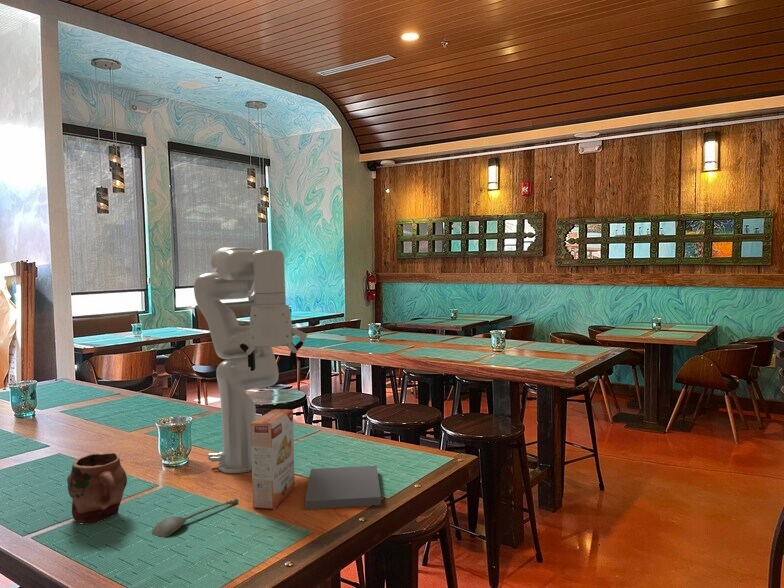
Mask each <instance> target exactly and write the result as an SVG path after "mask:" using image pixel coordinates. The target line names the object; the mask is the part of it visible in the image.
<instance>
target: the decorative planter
mask: <svg viewBox="0 0 784 588" xmlns="http://www.w3.org/2000/svg"><path fill="white" fill-rule="evenodd" d="M126 473H127V472H126V470H125V469H124V467H123V466H122V463H121V459H120V456H118V454H117V453H113V452H112V453H111V452H110V453H109V452H105V453H89V454H86V455H84V456H81V457H79V458H77V459H75V460H74V461H73V462H72V464H71V472H70V473H69V474H68V476H67V478H66V481H67V491H68V495H69V496H70V498H71V499H72V500H71V514H72V518H73V520H74V521H75V523H77V522H78V523H77V524H79V523H92V524H95V523H99V522H98V521H100V522H102V521H101V520H103V521H105V520H107V518H108V519H110V518H112V517H114V516H116V514H118V513H119V509H120V505H121V503H122V500H123V496H124V491H125V489H126V487H127V484H128V483H127V482H128V477H127V474H126ZM113 515H114V516H113ZM111 516H112V517H111ZM109 517H110V518H109ZM104 519H105V520H104ZM94 522H95V523H94Z"/></svg>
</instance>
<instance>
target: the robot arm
mask: <svg viewBox="0 0 784 588" xmlns="http://www.w3.org/2000/svg"><path fill="white" fill-rule="evenodd" d="M210 264H211V267H212V269H213V270H214V272H207V273H206V272H205V273H203V274H200V275H199V276H198V277H197V278H195V281H193V282H194V284H193V293H194V298H195V301H196V305H197V307H198V309H199V310H200V312H201V314H202V315H203V316H204V319H205V321H206V323H207V325H208V329H209V334H210V337H211V341H212V344H213V349H214V351H215V353H216V356H218V358H220V359H223V361H221V362H220V363H219V364H218V365H217V367H216V370H215V371H216V372H215V373H216V374H215V375H216V380H217V386H218V391H219V396H220V397H219V399H220V408H221V411H220V412H221V413H220V414H221V433H222V436H221V437H222V451H219V453H218V452H217V453H216V452H211V453H208V456H207V459H208V460H209V461H210V463H212V462H219V463H218V465H217V468H218V471H220V472H221V473H226V474H244V473H248V472H252V456H251V423H252V422H253V421H255V420H257V415H256V414H257V413H256V404H255V402H254V400H253V399H252V398H251V397H250V396H249V394H248V393H247V391H250V390H255V389H256V390H257V389H263V388H269V387H272V386H275V384H276V383H277V382H278V380H279V366H278V364H277V363H278V362H277V360H276V357H275V353H274V350H273V348H276V347H287V348H288V349H289V350H290V353H289V362H290V365H289V366H290V370H294V369H295V366H297V365H298V364H297V363H298V360H297V359H298V358H297V352H298V351H299V350H300V348H301V347H303V345H304V343H305V341H306V339H307V337H308V334H307V333H306V332H303V331H301V330H299V329H297V328H296V327H295V328H294V327H293V323H292V316H291V311H290V306H289V305H288V304H287V301H286V300H287V299H286V297H287V296H286V274H285V254H284V252H283V251H281V250H279V249H258V248H255V247H253V246H237V247H236V246H225V247H224V246H223V247H221V248H218V249H216V251H215V252H213V253H212V255H211V259H210ZM240 299H247V300H248V302H249V303H253V304H254V305H253V306H251V308H250V314H249V315H250V316H249V325H240V324H239V323H238V322H239V321H238V319H237V317H236V314H235V312H234V311H233V310H232V309H231V308H230V307H229V306H228V305H227V304H225V303H223V302H222V301H221V300H240ZM293 335H295V336H297V337H299V338H300V339H299V341H298V342H297V343H296V344H295V343H293V338H294V337H293Z"/></svg>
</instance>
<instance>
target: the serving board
mask: <svg viewBox="0 0 784 588" xmlns="http://www.w3.org/2000/svg"><path fill="white" fill-rule="evenodd" d="M380 489H381V487H380V481H379V474H378V466H377V465H362V466H345V467H342V466H341V467H326V468H325V467H324V468H311V469H310V473H309V478H308V483H307V488H306V494H305V499H304V507H305V508H304V509H305V510H319V509H334V508H335V509H337V508H355V507H357V508H358V507H371V506H372V505H375V506H382V495H381V490H380Z"/></svg>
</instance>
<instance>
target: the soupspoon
mask: <svg viewBox="0 0 784 588" xmlns="http://www.w3.org/2000/svg"><path fill="white" fill-rule="evenodd" d="M239 501H240V500H239V498H238V497H235V498H234V499H232V500H231V499H230V500H229V501H227V500H226V501H225V502H222V503H219V504H216V505H212V506H210V507H207V508H204V509H201V510H198V511H196V512H194V513H192V514H190V515H187V516H185V517H182V516H170V517H167V518H164V519H162V520H160V521H159V522H158V523H157V524H156V525H155V526H154V527H153V528H152V530H151V532H152V534H153V535H155V536H158V537H166V538H167V537H169V536H171V535H173V533H175V532H176V531H178V530H179V529H180V528H181V527H182V526H184V524H185V523H186V522H187V520H189V519H191V518H193V517H196V516H197V515H200V514H202V513H204V512H205V513H206V512H208V511H211V510H214V509H215V508H219V507H222V506H228V505H235V504H236V505H238V504H239ZM152 534H151V535H152ZM153 535H152V536H153ZM158 537H157V538H158Z"/></svg>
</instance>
